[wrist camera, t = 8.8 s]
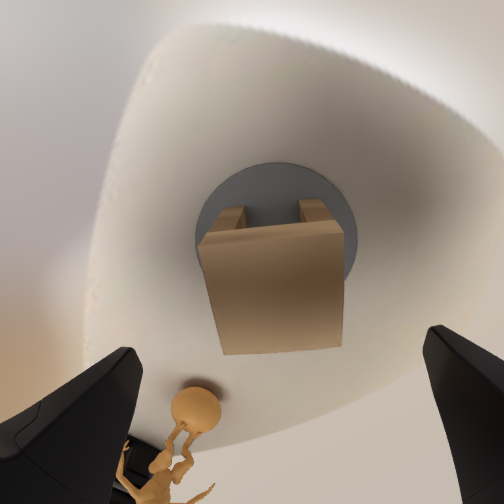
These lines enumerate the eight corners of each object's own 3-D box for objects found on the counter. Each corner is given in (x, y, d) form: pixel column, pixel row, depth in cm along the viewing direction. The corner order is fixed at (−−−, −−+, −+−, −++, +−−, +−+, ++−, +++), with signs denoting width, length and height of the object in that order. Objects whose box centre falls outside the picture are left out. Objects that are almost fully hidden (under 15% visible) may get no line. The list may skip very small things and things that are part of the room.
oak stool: (323, 283, 16) (341, 346, 11) (238, 290, 17) (223, 354, 12) (319, 197, 14) (343, 232, 9) (223, 208, 15) (197, 246, 10)
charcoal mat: (285, 334, 18) (285, 338, 18) (169, 254, 17) (167, 257, 16) (385, 235, 15) (387, 237, 15) (263, 128, 13) (262, 127, 13)
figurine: (252, 407, 22) (238, 535, 11) (207, 426, 24) (183, 532, 13) (176, 353, 20) (121, 496, 9) (138, 380, 22) (87, 492, 11)
